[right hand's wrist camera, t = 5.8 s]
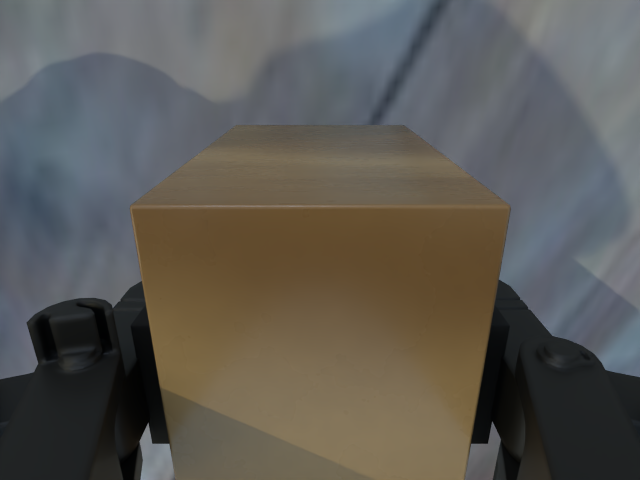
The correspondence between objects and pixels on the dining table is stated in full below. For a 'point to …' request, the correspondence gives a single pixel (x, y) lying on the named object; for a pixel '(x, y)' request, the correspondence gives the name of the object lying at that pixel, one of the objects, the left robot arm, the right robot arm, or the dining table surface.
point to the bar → (320, 304)
